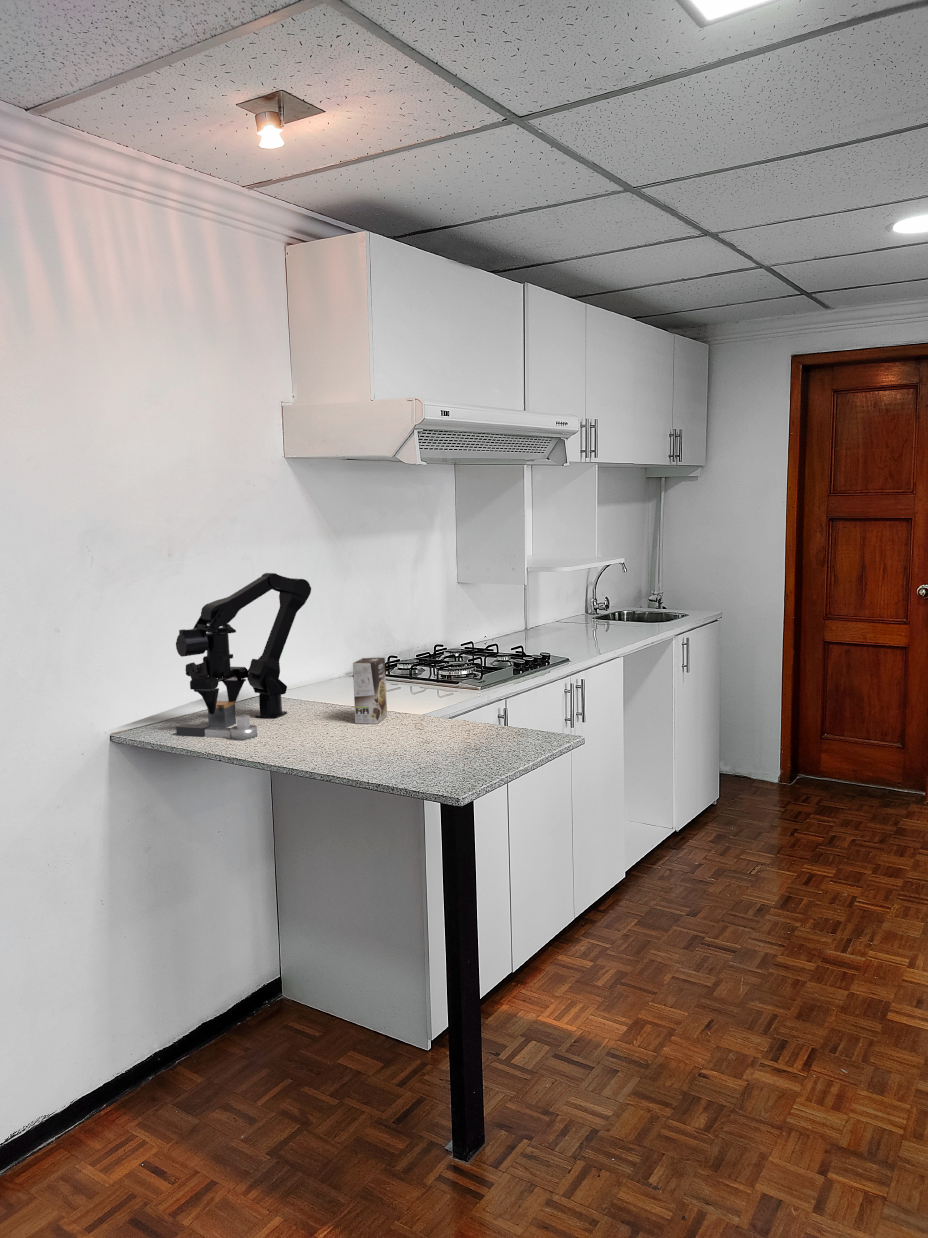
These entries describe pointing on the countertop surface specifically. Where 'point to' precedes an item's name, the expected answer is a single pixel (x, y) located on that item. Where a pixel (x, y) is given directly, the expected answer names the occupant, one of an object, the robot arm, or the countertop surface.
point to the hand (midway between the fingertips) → (222, 710)
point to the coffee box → (370, 690)
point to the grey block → (223, 714)
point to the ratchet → (220, 730)
